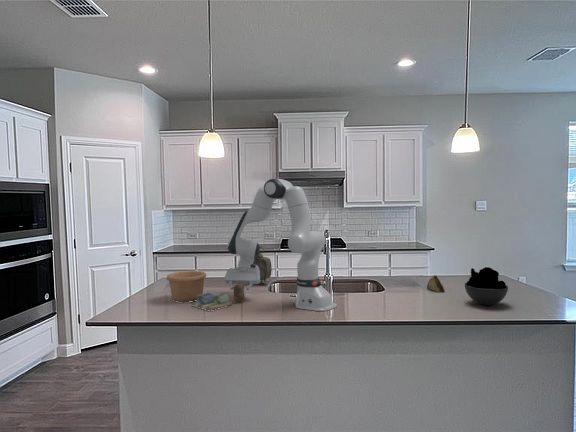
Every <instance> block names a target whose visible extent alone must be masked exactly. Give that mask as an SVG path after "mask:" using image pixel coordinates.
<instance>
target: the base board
mask: <svg viewBox="0 0 576 432" xmlns="http://www.w3.org/2000/svg"><path fill="white" fill-rule="evenodd" d="M232 304H233V303H232V301H230V300H229V295H228V294H224V293H220V292H219V293H217V294H214V293H210V292H205V293H203V294H200V295H197V301H195V302H191V306H192V305H194V306H197V307H200V308H203V309H206V310H205V311H207V310H210V311H209V312H212V311H211V310H214V311H216V310H215V309H218V308H221V307H225V306H228V307H230V306H229V305H232ZM197 307H196V308H197ZM200 308H199V309H200ZM225 308H226V307H225ZM203 309H202V310H203ZM221 309H222V308H221ZM218 310H219V309H218Z"/></svg>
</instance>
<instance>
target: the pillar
mask: <svg viewBox="0 0 576 432" xmlns="http://www.w3.org/2000/svg"><path fill="white" fill-rule="evenodd" d="M233 287H234V288H233V303H234V302H235V303H234V304H241V303H242V302H243V301H244V302H245V284H244V285H242V284H240V285H239V284H236V285H233ZM244 302H243V303H244ZM243 303H242V304H243Z"/></svg>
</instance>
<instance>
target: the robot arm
mask: <svg viewBox="0 0 576 432" xmlns="http://www.w3.org/2000/svg"><path fill="white" fill-rule="evenodd" d="M276 200H284V201H285V202H286V204H287V205H286V206H287V209H288V212H289V213H288V214H289V218H290V222H291V232H290V233H291V234H290V236H289V237H288V240H287V246H288V249H289V250H290V251H291V252H292V253H294V254H301V256H300V258H299V261H298V262H297V265H296V267H297V278H296V285H297V290H296V299H295V303H294V305H295V308H296V309H301V310H302V309H303V310H307V311H308V310H309V311H315V312H326V311H330V310H333V309H335V308H336V307H338V305H337V303H335V302H333V298H332V295H331V293H330V292H329V291H327V289H325V288H324V286H323V285H322V283H323V279H322V280H320V278H319V277H320V276H319V263H320V262H319V261H320V258H321V253H322V250H323V248H324V246H325V244H326V241H327V239H326V236H325V235H324V233H323V232H321V231H319V230H310V224H311V223H310V222H311V221H312V217H313V216H312V213H311V209H310V206H309V205H310V204H309V202H308V198H307V196H306V193H305V191H304V189H303V188H302V187H301V186H297V185H295V184H294V183H293V182H292V181H290V180H286V179H282V178H269V179H268V180H266V182H265V183H264V185H263V186H260V187H259V189H258V190H257V192H256V194H255V196H254V198H253V202H252V204H251V207H250V208H249V209H248V210H246V211H244V213H243V214H242V216H241V217H240V220H239V221H238V223H237V225H236V228H235V230H234V232H233V234H232V236H231V238H230V239H229V241H228V242H227V248H226V249H227V250H228V252H229V253H230V254H231V255H237V256H239V260H238V263H237V266H236V267H235V268H233V267H232V268H228V269H227V270H226V273H225V275H224V279H223V280H224V282H225V283H226V284H229V285H230V286H229V289H230V290H231V291H232V290H233V291H234V284H238V285H239V284H240V285H242V284H244V285H245V284H246V290H247V291H250V290H251V288H252V286H253V285H258V284H260V282H261V280H260V270H259V267H258V266H257V265H254V264H253V262H254V260H256V259H257V258H258V256H259V251H260V250H261V248H260V247H261V246H260V244H259V242H256V241H253V240H249V239H247V238H242V237H241V235H242V232H243V231H244V229H245V227H246V226H247V225H248V224H252V223H259V222H260V223H261V222H264V221H265V220H267V219H268V218H269V217H270V215H271V212H272V208H273V205H274V203H275V201H276ZM260 252H261V251H260Z"/></svg>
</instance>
